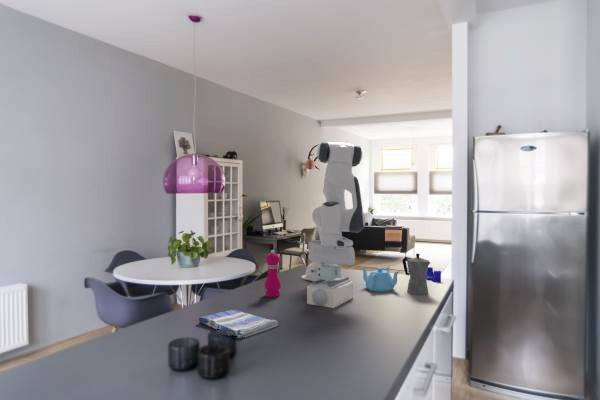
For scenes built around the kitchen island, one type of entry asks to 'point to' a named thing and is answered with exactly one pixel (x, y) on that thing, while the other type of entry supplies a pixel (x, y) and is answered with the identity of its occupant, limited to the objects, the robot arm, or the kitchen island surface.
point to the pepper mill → (272, 275)
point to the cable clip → (433, 275)
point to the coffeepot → (416, 275)
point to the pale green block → (328, 272)
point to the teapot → (380, 280)
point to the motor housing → (330, 292)
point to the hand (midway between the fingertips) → (331, 274)
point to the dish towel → (238, 322)
